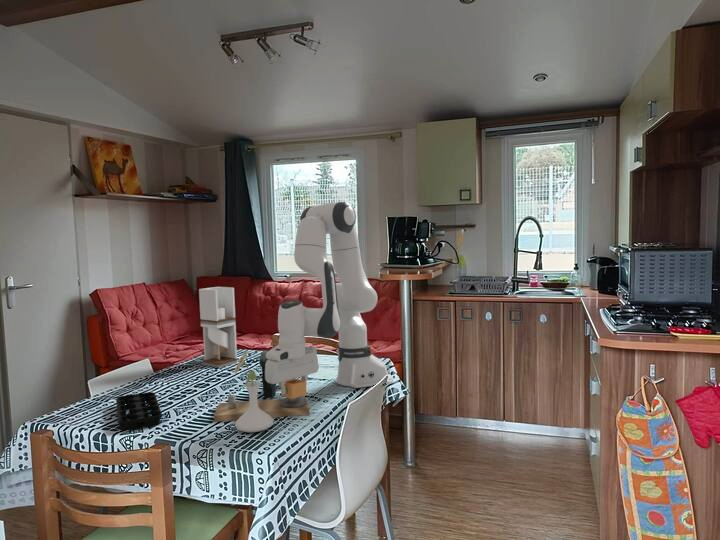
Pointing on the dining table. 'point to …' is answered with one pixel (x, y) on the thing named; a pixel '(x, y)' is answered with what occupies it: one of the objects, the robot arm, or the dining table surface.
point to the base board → (262, 408)
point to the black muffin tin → (138, 411)
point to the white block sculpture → (218, 326)
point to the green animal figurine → (268, 388)
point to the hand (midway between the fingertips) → (293, 391)
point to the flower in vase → (252, 405)
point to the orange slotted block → (295, 388)
